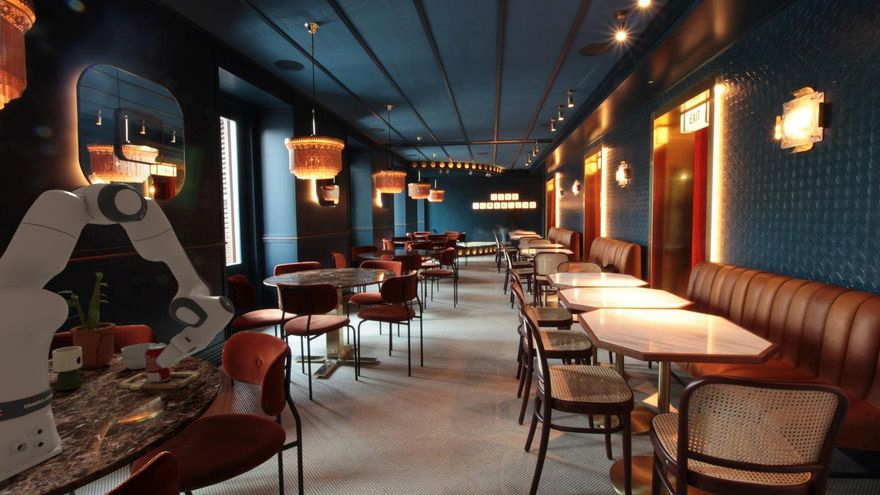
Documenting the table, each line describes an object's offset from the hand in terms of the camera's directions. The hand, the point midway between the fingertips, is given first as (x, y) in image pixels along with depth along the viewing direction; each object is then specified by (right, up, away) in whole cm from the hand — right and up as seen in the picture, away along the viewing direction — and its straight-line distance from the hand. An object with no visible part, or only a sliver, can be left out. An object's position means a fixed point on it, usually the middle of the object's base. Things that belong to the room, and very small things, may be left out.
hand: (169, 365), depth 144 cm
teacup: (-19, -5, +16) cm, 25 cm away
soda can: (-4, -6, 0) cm, 7 cm away
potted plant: (-38, -5, +13) cm, 41 cm away
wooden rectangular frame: (-3, -5, 0) cm, 6 cm away
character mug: (-28, -6, -6) cm, 30 cm away
